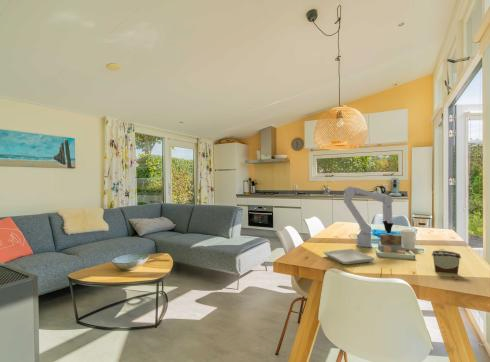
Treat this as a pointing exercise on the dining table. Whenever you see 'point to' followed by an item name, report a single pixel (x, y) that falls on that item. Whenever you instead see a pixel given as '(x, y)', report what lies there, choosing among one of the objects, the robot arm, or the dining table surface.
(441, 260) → the food container
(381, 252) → the tray
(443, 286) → the dining table surface
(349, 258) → the salad plate
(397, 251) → the tile
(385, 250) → the tile
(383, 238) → the long brown wooden post
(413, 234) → the mug
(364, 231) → the robot arm
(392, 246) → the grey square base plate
